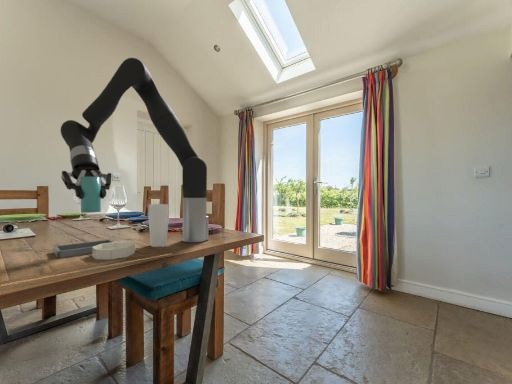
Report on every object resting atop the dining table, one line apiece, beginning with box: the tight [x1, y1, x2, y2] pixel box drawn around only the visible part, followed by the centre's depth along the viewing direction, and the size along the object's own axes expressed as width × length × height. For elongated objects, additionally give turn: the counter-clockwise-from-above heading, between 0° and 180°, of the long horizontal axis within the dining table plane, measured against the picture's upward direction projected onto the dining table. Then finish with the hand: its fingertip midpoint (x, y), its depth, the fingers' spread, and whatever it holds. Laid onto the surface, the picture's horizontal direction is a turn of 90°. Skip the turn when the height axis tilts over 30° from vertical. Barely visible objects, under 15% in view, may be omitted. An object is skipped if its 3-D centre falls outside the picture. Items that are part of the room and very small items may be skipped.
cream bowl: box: [91, 241, 136, 260], centre depth 73 cm, size 10×10×3 cm
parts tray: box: [53, 239, 115, 259], centre depth 77 cm, size 15×9×2 cm, turn 135°
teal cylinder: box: [80, 177, 102, 214], centre depth 77 cm, size 5×5×11 cm
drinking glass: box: [147, 203, 170, 248], centre depth 86 cm, size 7×7×15 cm
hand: (92, 196), depth 75 cm, fingers closed on teal cylinder, 5 cm apart
